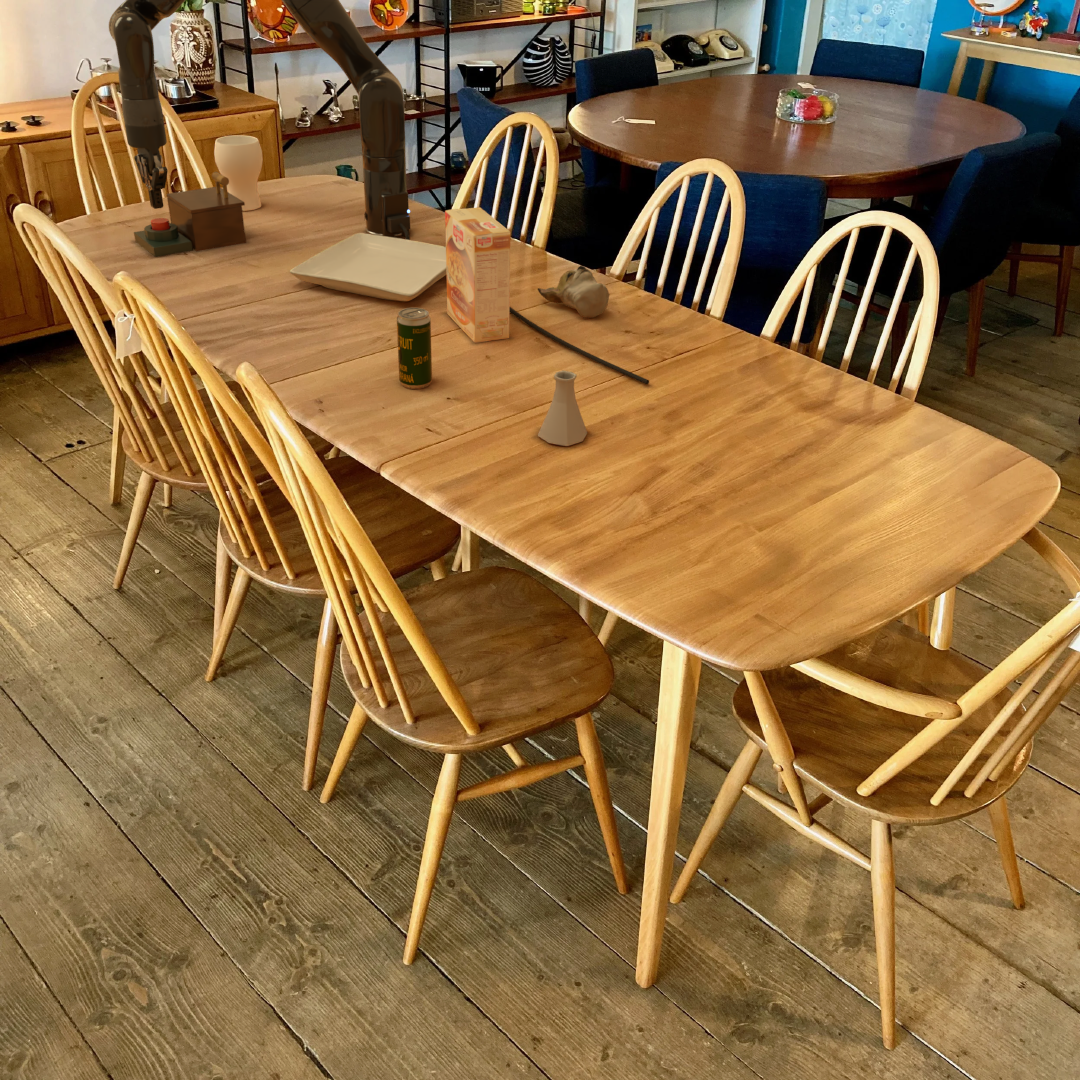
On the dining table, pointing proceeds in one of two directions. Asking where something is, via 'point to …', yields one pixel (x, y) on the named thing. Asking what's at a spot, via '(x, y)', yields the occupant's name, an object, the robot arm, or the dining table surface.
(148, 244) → the green button base
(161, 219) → the button
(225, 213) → the chest
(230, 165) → the cup
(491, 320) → the coffeecake box
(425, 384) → the green soda can
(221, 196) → the chest lid
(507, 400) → the dining table surface
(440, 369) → the dining table surface
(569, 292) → the ceramic sculpture
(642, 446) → the dining table surface
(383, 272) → the square plate
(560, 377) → the flask
